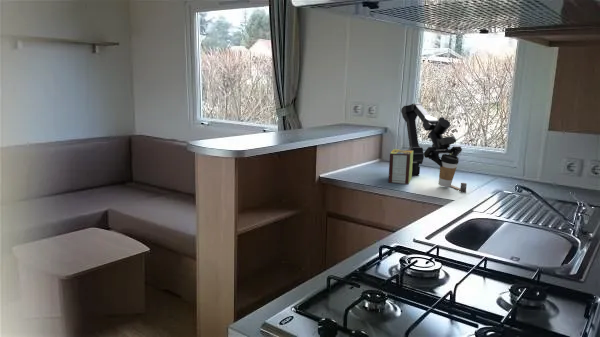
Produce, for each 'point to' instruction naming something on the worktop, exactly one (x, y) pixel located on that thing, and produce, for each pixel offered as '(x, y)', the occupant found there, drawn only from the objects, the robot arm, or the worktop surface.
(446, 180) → the coffee cup
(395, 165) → the protein box
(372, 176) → the worktop surface
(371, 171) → the worktop surface
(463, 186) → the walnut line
